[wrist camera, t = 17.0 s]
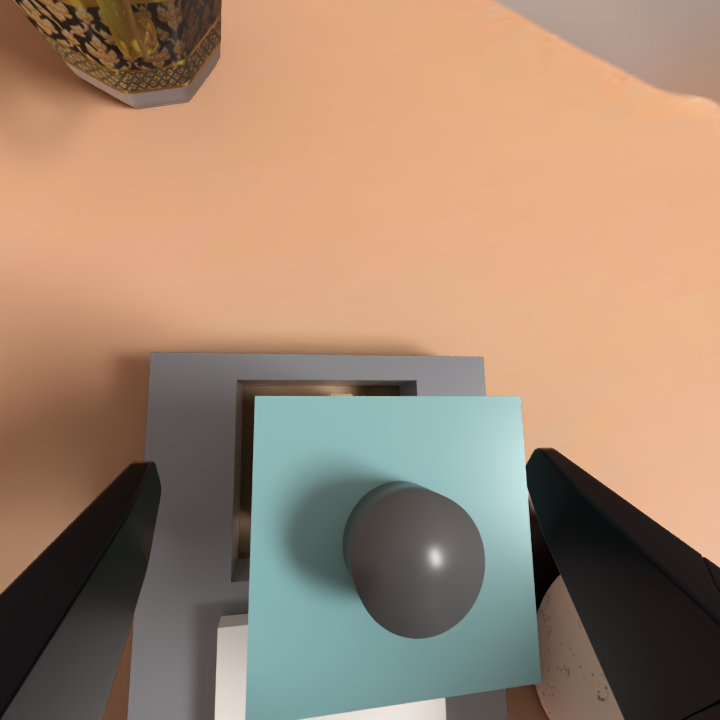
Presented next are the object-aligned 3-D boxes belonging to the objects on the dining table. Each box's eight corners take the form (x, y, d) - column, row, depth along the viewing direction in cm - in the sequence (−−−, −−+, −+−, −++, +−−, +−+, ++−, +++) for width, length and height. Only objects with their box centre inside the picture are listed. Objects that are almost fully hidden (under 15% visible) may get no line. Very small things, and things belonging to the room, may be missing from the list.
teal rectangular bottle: (375, 516, 17) (588, 730, 5) (270, 523, 17) (236, 794, 4) (373, 402, 18) (555, 359, 6) (273, 402, 17) (251, 352, 5)
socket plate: (484, 823, 16) (519, 894, 14) (139, 902, 14) (109, 1004, 11) (458, 365, 19) (483, 356, 17) (169, 362, 17) (150, 351, 14)
